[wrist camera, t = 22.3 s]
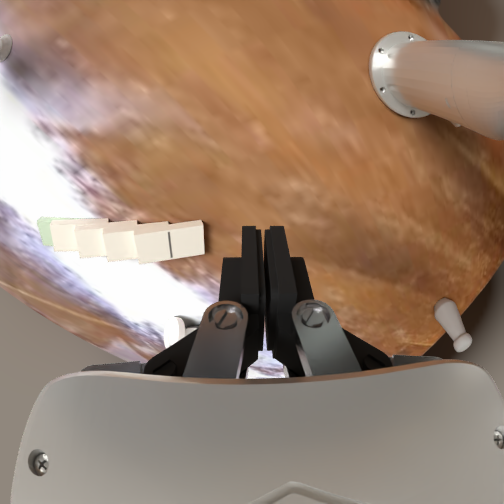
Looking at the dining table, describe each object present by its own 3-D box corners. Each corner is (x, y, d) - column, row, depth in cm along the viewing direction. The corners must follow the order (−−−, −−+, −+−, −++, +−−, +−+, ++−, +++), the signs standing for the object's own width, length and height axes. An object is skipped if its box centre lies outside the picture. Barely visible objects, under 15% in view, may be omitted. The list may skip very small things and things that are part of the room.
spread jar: (217, 351, 60) (214, 398, 51) (167, 344, 59) (157, 390, 49) (224, 316, 54) (220, 368, 44) (165, 307, 52) (152, 358, 43)
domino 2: (137, 225, 40) (74, 231, 37) (139, 252, 43) (80, 258, 39) (136, 220, 41) (76, 225, 38) (139, 247, 44) (81, 252, 41)
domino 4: (203, 225, 40) (133, 235, 37) (204, 254, 43) (139, 264, 40) (201, 219, 42) (133, 229, 39) (202, 248, 45) (139, 258, 41)
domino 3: (169, 226, 40) (102, 234, 37) (170, 254, 43) (108, 262, 40) (168, 221, 42) (103, 228, 38) (169, 248, 44) (108, 255, 41)
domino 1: (107, 223, 40) (49, 225, 36) (109, 250, 42) (54, 251, 39) (108, 218, 41) (52, 219, 37) (110, 244, 44) (56, 245, 40)
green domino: (81, 223, 40) (36, 221, 39) (86, 249, 43) (43, 245, 42) (85, 218, 41) (41, 216, 40) (90, 244, 44) (47, 240, 43)
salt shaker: (431, 301, 53) (455, 346, 43) (451, 290, 52) (478, 333, 41) (430, 316, 56) (452, 359, 46) (450, 306, 55) (473, 348, 44)
